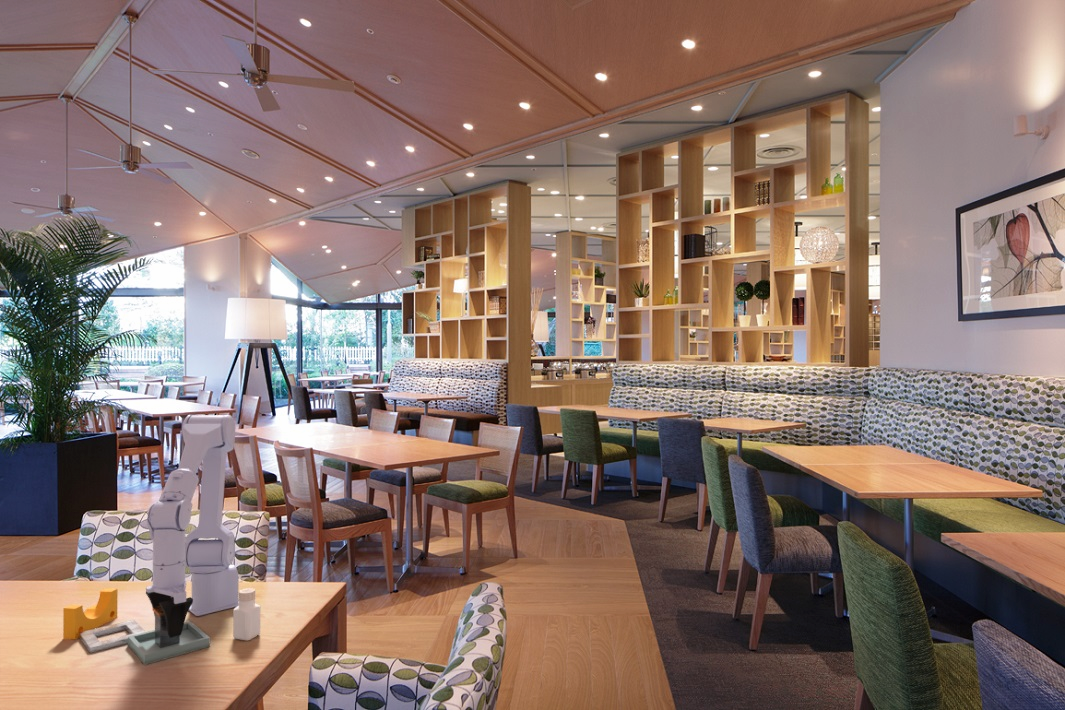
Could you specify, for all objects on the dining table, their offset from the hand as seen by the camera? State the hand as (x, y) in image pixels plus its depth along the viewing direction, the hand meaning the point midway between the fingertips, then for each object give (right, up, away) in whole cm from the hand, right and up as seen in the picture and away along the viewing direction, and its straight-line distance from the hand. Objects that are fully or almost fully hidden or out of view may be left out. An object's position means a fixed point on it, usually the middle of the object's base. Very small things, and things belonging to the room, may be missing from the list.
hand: (168, 630), depth 136 cm
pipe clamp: (-22, -4, +9) cm, 24 cm away
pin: (0, -3, 0) cm, 3 cm away
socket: (-13, -3, +4) cm, 14 cm away
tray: (0, -3, 0) cm, 3 cm away
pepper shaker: (+14, -4, +5) cm, 15 cm away
